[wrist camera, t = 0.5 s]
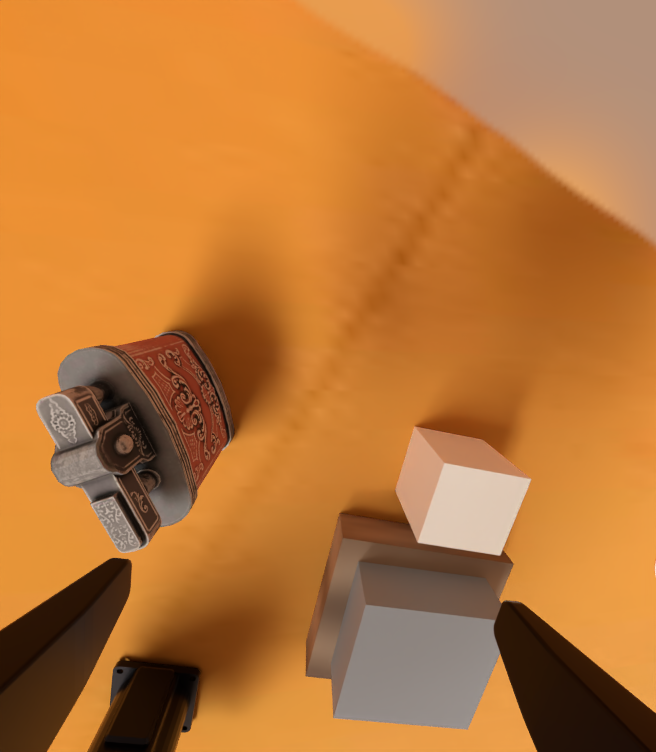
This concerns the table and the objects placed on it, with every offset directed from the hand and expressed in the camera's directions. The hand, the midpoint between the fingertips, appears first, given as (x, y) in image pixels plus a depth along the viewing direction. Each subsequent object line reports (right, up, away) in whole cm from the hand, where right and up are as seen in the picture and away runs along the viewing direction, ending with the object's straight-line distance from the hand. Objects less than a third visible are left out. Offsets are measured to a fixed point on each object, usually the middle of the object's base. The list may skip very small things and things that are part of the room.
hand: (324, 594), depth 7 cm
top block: (+6, -12, +14) cm, 20 cm away
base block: (+6, -11, +17) cm, 21 cm away
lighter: (-8, +4, +12) cm, 16 cm away
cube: (+8, -1, +14) cm, 16 cm away
